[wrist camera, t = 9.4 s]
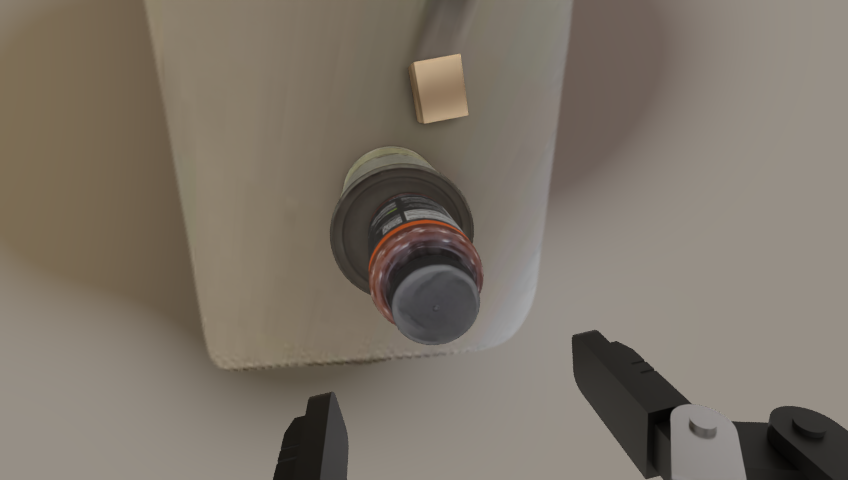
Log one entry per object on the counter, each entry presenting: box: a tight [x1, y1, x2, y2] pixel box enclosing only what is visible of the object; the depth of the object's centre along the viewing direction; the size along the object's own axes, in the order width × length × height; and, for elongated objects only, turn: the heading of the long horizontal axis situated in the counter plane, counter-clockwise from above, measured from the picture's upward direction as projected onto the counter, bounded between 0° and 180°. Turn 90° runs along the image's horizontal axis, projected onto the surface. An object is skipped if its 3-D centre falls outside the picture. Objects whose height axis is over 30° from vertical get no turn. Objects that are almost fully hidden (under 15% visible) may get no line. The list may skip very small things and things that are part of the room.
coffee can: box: [330, 146, 474, 295], centre depth 34 cm, size 10×10×14 cm
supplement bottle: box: [368, 193, 483, 345], centre depth 22 cm, size 6×6×11 cm
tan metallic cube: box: [408, 54, 468, 124], centre depth 36 cm, size 5×4×5 cm
